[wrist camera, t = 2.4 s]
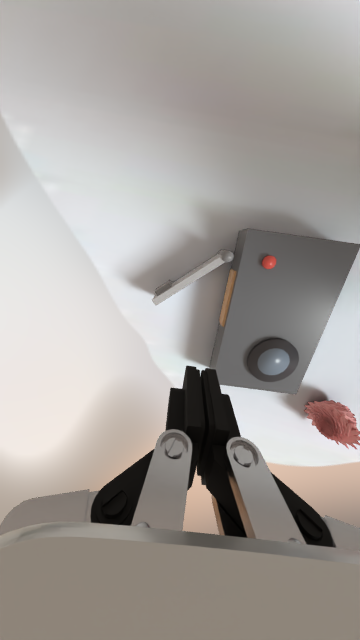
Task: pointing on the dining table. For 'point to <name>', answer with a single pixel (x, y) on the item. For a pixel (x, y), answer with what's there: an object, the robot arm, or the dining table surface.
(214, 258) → the port door
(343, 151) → the dining table surface
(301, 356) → the camera body
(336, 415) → the flower
